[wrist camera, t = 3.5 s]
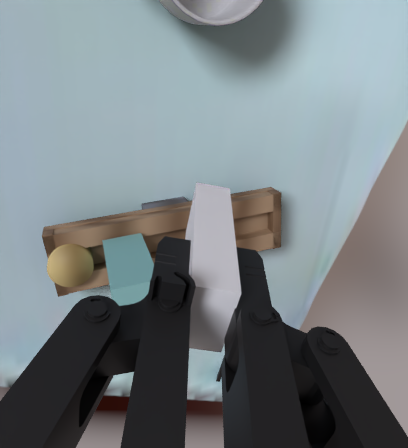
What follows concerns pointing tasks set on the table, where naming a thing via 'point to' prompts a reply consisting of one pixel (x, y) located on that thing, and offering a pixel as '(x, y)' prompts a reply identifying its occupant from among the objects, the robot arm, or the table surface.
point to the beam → (150, 235)
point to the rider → (128, 268)
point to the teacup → (211, 10)
